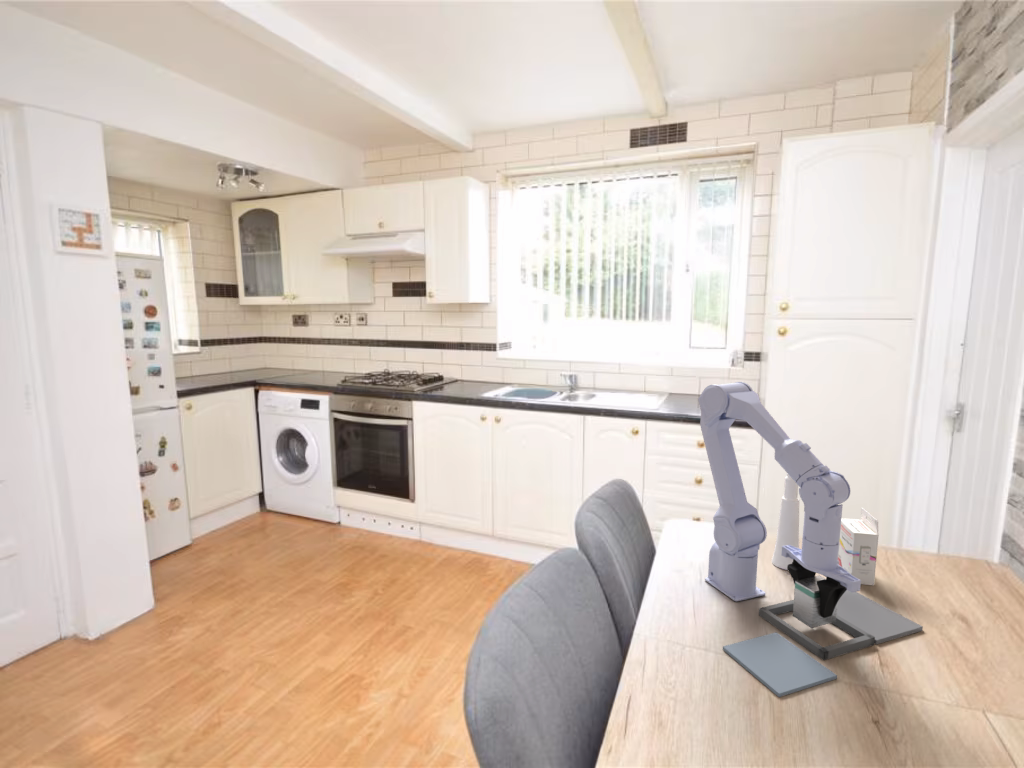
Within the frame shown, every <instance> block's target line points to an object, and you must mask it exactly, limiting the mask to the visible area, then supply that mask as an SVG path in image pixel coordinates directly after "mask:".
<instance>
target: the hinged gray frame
mask: <svg viewBox="0 0 1024 768" xmlns="http://www.w3.org/2000/svg"><path fill="white" fill-rule="evenodd" d="M793 605H794V599H790V600H786V601H783V602H779V603H775V604H770V605H767V606H762V607H759V608H758V616H759V617H761V618H762V619H763V620H765V621H766V622H768V623H769V624H770V625H773V627H775V628H776V629H778V630H779V631H781V632H782V633H784V634H785V635H787V636H788V637H790V638H791V639H792V640H794V641H795V642H797V643H798V644H800V645H801V646H802V647H803V648H805V649H807V650H808V651H810V652H811V653H812V654H814V655H815V656H817V657H818V658H819V659H820V660H823V661H825V660H826V661H827V660H829V659H833V658H836V657H839V656H842V655H845V654H849V653H852V652H856V651H859V650H863V649H866V648H868V647H872V646H874V645H878V644H882V643H885V642H888V641H892V640H896V639H899V638H901V637H906V636H909V635H912V634H914V633H918V632H922V631H923V628H924V627H923V626H922V625H921V624H919V623H917V622H915V621H913V620H911V619H909V618H907V617H906V616H903V615H902V614H899V612H896V611H894V610H892V609H890V608H888V607H886V606H884V605H882V604H880V603H878V602H877V601H876V600H875V601H874V600H872V599H871V598H869V597H867V596H865V595H863V594H861V593H860V592H859V591H857V592H852V593H851V592H850V591H848V590H846V591H845V592H844V594H843V595H842V596H841V598H840V599H839V601H838V605H837V616H836V622H833V623H832V624H833V625H834V626H836V627H838V628H839V629H841V630H843V631H844V632H846V633H847V634H849V635H851V636H853V637H854V638H850V639H847V640H844V641H840V642H837V643H833V644H829V645H827V646H822V645H821V644H819V643H817V642H816V641H815V640H814V639H812V638H810V637H808V636H807V635H806V634H804V633H803V632H801V631H800V630H798V629H797V628H795V627H794V626H792V625H791V624H790V623H788V622H786V621H785V620H784V619H782V618H780V617H779V616H777V615H781V614H785V613H789V612H793Z"/></svg>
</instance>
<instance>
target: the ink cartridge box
mask: <svg viewBox="0 0 1024 768" xmlns="http://www.w3.org/2000/svg"><path fill="white" fill-rule="evenodd" d="M868 518H869V519H868ZM879 535H880V534H879V520H878V519H877V518H875V517H874V516H873V515H872V514H871V513H870V512H869V511H867V510H866V509H865V508H864V507H860V519H858V518H843V517H842V519H841V530H840V542H839V552H838V561H839V565H840V566H841V567H842V568H844V569H845V570H846V571H848V572H849V573H850V574H851V575H853V576H854V577H856V578H858V579H859V580H861V585H866V586H874V585H875V579H876V578H875V577H876V570H877V557H878V547H879V546H878V545H879Z"/></svg>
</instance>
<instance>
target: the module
mask: <svg viewBox="0 0 1024 768" xmlns="http://www.w3.org/2000/svg"><path fill="white" fill-rule="evenodd" d="M824 579H825V580H826V577H823V576H822V575H821V574H819V575H815V577H810V578H806V579H802V580H797V581H795V584H794V594H793V600H794V605H793V611H792V617H793V618H795V619H797V620H798V621H800V622H801V623H802V624H804V625H806V626H807V627H809V628H810V629H815V628H819V627H821V626H825V625H829V624H833V622H836V616H837V605H838V602H837V604H836V606H835V609H834V611H833V614H832V616H830V617H826V618H823V617H822V616H821V615H820V593H819V588H818V585H817V581H820V580H824Z"/></svg>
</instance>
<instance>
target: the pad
mask: <svg viewBox="0 0 1024 768" xmlns="http://www.w3.org/2000/svg"><path fill="white" fill-rule="evenodd" d="M722 651H724V652H725V653H726V654H727V655H728V656H730V658H732V659H733V660H734V661H736V662H737V663H738V664H739V665H740V666H741V667H742V668H744V669H745V670H746V671H747V672H749V673H750V674H751V675H752V676H754V678H756V679H757V680H758V681H759V682H760V683H761V684H763V685H764V686H765V687H767V688H768V689H769V691H771V692H772V693H773V694H775V695H776V697H778V698H781V697H784V696H787V695H790V694H793V693H794V694H795V693H796V692H799V691H802V690H803V691H804V690H805V689H809V688H812V687H815V686H819V685H821V684H825V683H828V682H831V681H833V680H837V678H838V675H837V674H836V673H835V672H833V671H832V670H830V669H829V668H828V667H826V666H825V665H824V664H822V663H821V662H819V661H818V660H816V659H815V658H813V657H812V656H811V655H809V654H807V653H806V652H805V651H804V650H802V649H801V648H799V646H796V645H795V644H794V643H793V642H791V641H789V640H788V639H786V637H784V636H782V635H780V634H779V633H778V632H772V633H768V634H764V635H760V636H756V637H753V638H750V639H746V640H741V641H737V642H733V643H730V644H727V645H722Z"/></svg>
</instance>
